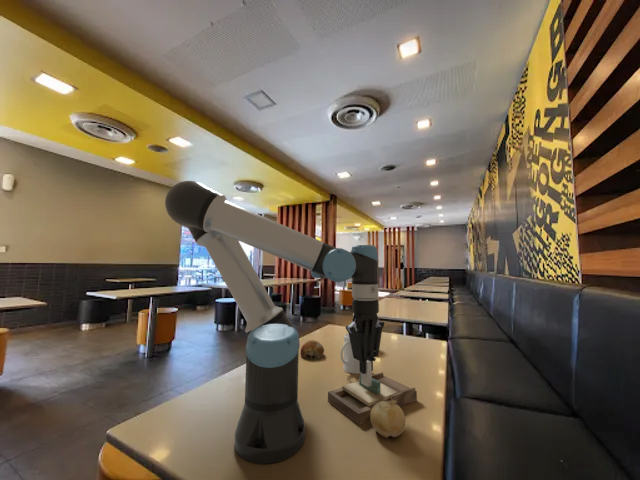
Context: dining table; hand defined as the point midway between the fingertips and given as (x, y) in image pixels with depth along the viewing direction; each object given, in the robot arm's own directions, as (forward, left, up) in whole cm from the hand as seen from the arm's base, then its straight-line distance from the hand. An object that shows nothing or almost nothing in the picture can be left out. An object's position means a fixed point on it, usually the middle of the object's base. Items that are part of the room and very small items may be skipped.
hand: (366, 384), depth 74 cm
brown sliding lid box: (+3, 0, -5) cm, 6 cm away
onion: (-4, -12, -6) cm, 14 cm away
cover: (+1, 0, -3) cm, 3 cm away
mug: (+12, +20, -5) cm, 24 cm away
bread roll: (+7, +41, -6) cm, 42 cm away
